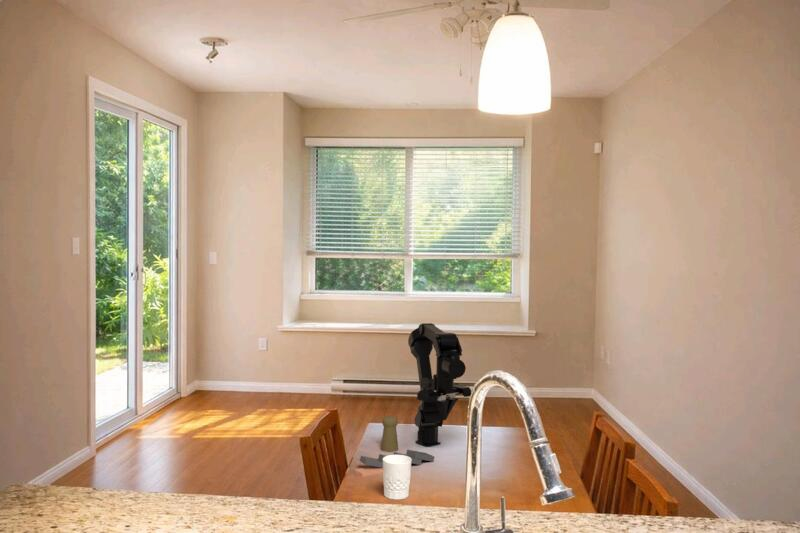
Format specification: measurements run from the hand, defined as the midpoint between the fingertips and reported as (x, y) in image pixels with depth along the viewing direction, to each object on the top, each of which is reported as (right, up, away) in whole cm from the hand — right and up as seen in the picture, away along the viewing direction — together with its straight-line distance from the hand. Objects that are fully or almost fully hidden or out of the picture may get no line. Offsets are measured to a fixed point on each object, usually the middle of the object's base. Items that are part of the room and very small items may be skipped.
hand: (444, 419), depth 220 cm
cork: (-18, -12, +7) cm, 22 cm away
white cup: (-15, -13, -35) cm, 40 cm away
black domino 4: (-18, -11, -12) cm, 25 cm away
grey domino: (-9, -11, -7) cm, 16 cm away
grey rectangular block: (-13, -11, -9) cm, 20 cm away
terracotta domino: (-20, -12, -14) cm, 27 cm away
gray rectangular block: (-5, -11, -3) cm, 13 cm away
